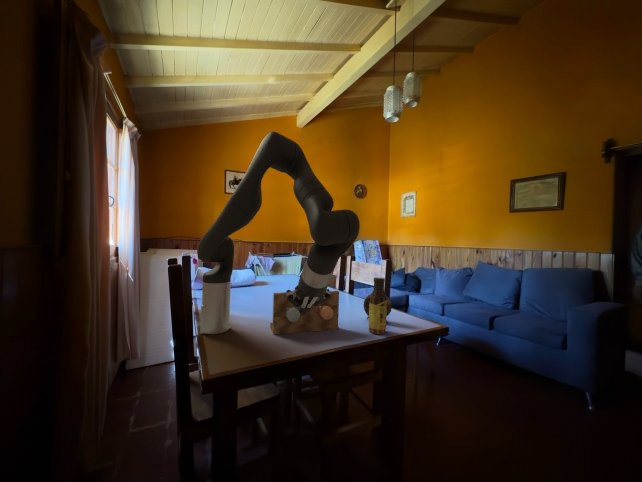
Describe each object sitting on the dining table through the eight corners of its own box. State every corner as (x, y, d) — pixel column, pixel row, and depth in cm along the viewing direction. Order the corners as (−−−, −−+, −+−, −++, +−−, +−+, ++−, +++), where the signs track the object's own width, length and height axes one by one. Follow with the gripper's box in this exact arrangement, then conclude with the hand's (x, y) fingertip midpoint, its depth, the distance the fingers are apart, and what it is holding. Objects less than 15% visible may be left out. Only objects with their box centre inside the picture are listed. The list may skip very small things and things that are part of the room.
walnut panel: (273, 334, 93) (274, 293, 92) (270, 326, 100) (271, 289, 100) (337, 329, 100) (339, 291, 100) (330, 322, 108) (331, 287, 107)
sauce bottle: (382, 336, 94) (384, 279, 94) (365, 332, 97) (367, 278, 97) (388, 331, 100) (390, 277, 99) (372, 327, 103) (374, 276, 103)
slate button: (281, 314, 99) (282, 302, 99) (293, 313, 100) (293, 301, 100) (286, 322, 89) (287, 309, 89) (299, 321, 91) (300, 308, 91)
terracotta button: (313, 312, 103) (313, 300, 103) (323, 311, 104) (324, 300, 104) (321, 320, 93) (321, 307, 93) (333, 319, 95) (333, 306, 94)
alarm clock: (391, 322, 110) (392, 283, 110) (387, 326, 106) (388, 284, 105) (366, 317, 116) (367, 280, 116) (361, 320, 111) (362, 281, 111)
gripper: (337, 263, 72) (321, 299, 84) (288, 263, 68) (278, 300, 80) (344, 287, 67) (326, 321, 79) (292, 288, 63) (281, 324, 75)
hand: (302, 311), depth 79 cm, fingers closed
